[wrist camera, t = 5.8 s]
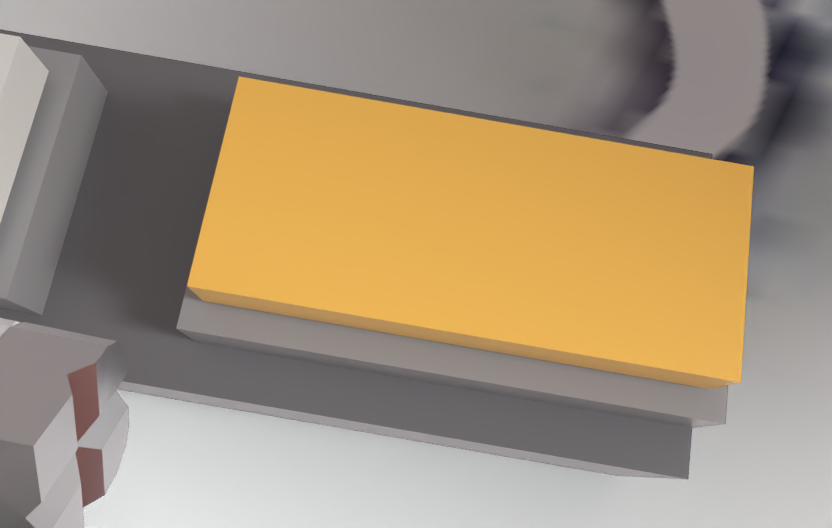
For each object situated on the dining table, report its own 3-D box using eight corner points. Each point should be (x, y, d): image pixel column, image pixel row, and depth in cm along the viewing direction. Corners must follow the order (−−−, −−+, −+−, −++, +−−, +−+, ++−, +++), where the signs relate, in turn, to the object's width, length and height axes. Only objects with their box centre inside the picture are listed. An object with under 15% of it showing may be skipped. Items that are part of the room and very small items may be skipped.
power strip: (643, 208, 28) (745, 109, 20) (617, 475, 26) (722, 480, 18) (-183, 63, 28) (-398, -90, 20) (-285, 319, 25) (-575, 256, 18)
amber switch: (724, 189, 19) (754, 166, 18) (710, 389, 18) (740, 381, 17) (250, 107, 19) (238, 76, 18) (203, 300, 18) (186, 286, 17)
